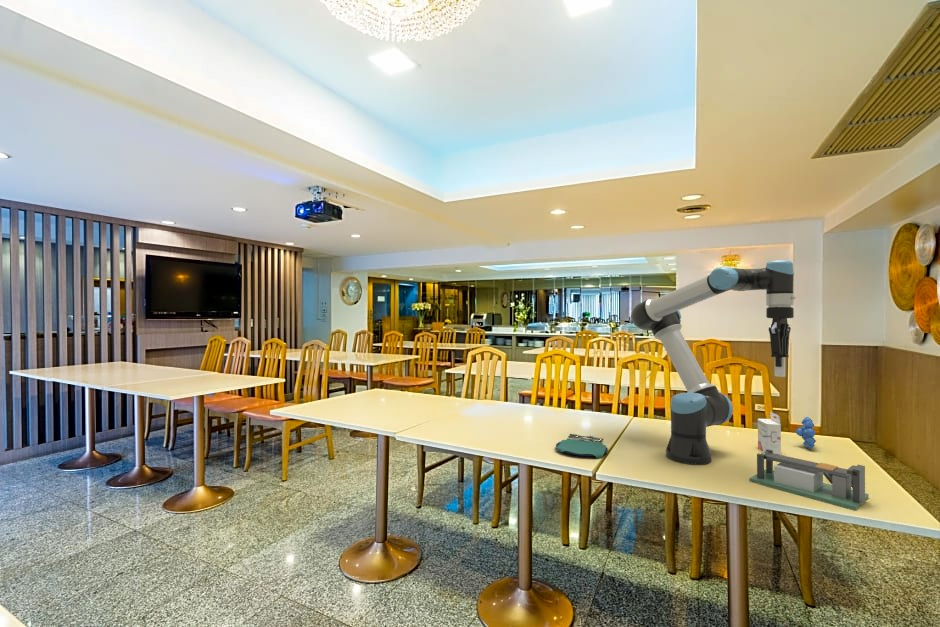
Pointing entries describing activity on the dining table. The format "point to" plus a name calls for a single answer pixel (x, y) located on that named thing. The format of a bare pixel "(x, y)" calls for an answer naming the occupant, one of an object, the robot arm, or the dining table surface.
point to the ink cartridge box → (770, 434)
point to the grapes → (807, 432)
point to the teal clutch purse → (582, 446)
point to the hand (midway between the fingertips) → (779, 376)
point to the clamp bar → (806, 464)
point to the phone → (829, 477)
